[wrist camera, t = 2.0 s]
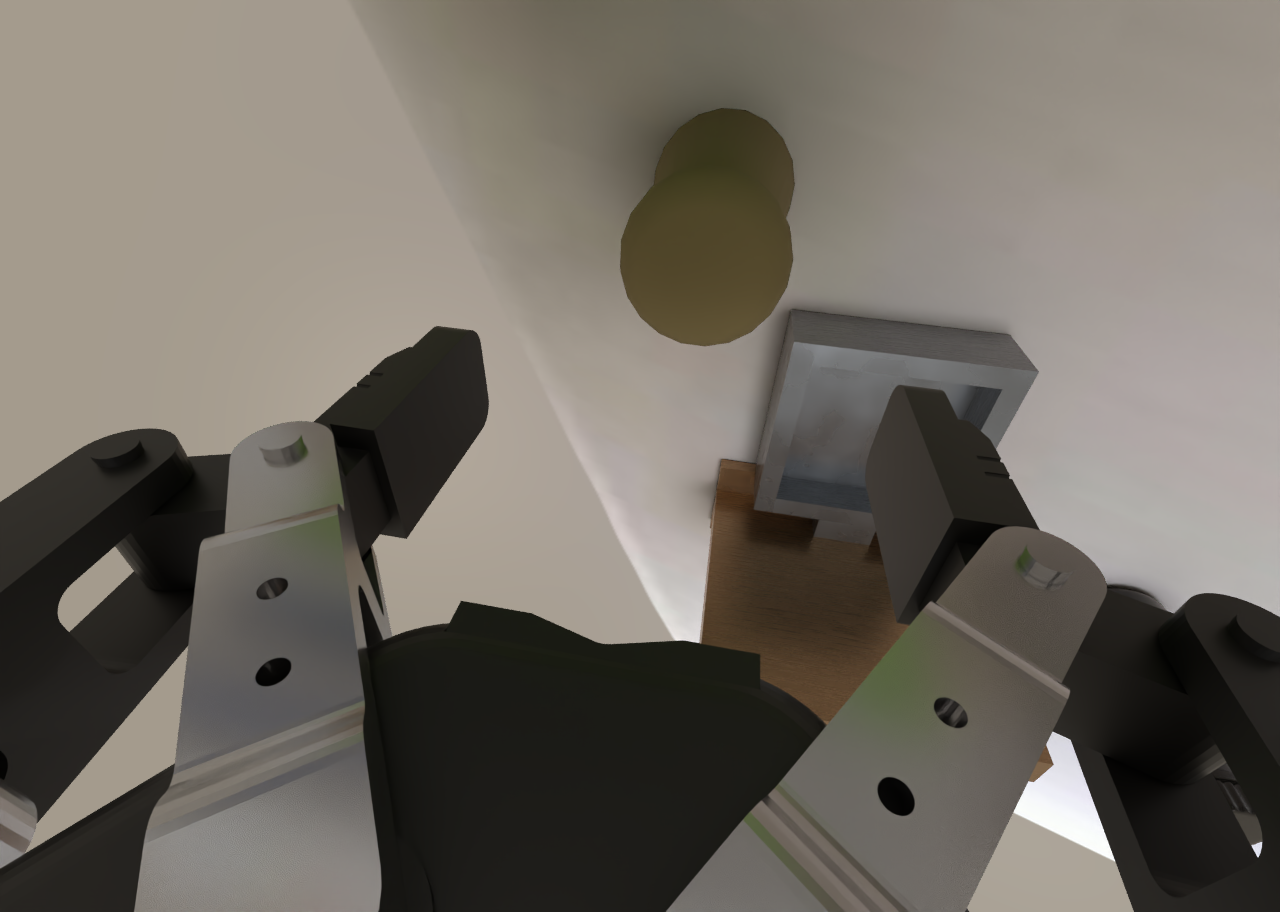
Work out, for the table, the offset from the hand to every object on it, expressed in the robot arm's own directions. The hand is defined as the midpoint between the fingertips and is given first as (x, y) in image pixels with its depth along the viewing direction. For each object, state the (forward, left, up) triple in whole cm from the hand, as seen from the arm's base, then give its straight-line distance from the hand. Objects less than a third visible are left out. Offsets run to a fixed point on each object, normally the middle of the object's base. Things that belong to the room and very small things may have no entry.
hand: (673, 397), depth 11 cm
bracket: (+12, +9, -17) cm, 23 cm away
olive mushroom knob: (0, 0, -17) cm, 17 cm away
